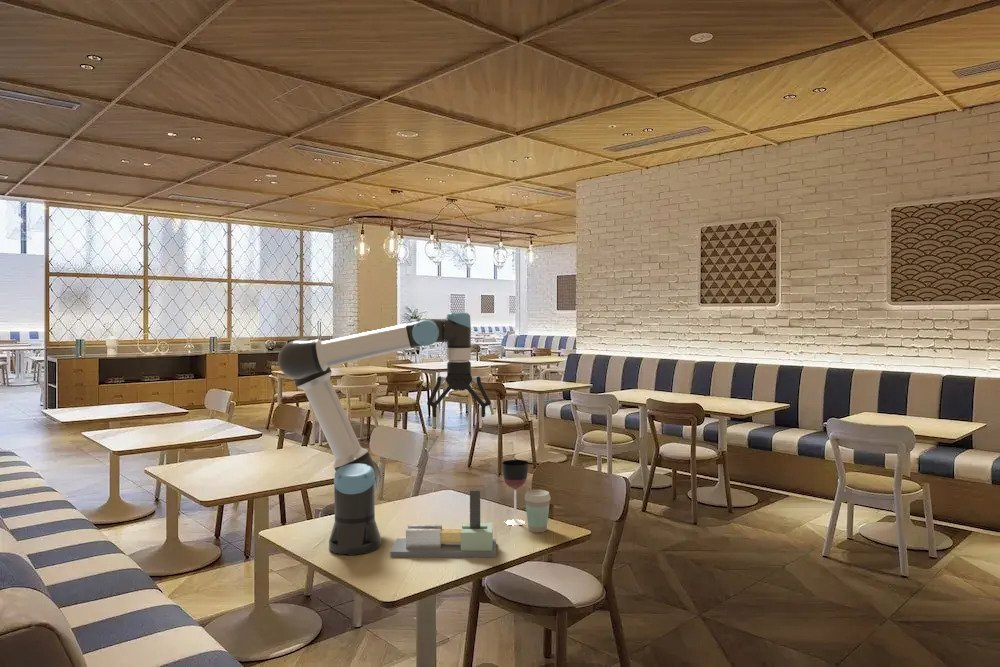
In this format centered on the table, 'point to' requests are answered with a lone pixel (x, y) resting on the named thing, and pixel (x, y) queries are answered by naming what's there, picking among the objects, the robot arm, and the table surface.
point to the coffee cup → (537, 509)
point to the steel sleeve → (423, 536)
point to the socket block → (477, 537)
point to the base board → (437, 551)
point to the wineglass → (515, 481)
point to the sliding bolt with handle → (455, 534)
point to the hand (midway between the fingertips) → (459, 427)
